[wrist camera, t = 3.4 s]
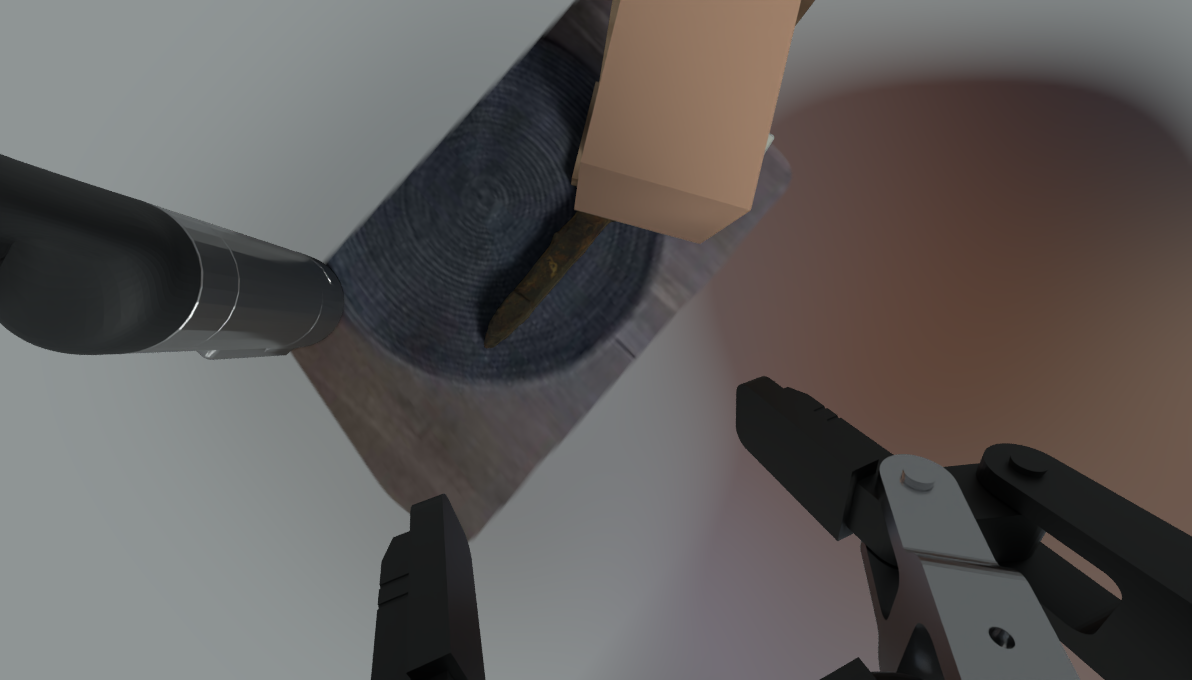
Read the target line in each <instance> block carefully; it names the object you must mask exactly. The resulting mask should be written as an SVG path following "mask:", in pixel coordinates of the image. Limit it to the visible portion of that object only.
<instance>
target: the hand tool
mask: <svg viewBox="0 0 1192 680" xmlns="http://www.w3.org/2000/svg"><path fill="white" fill-rule="evenodd" d="M610 222H615V221H614V220H611V219H607V218H603V217H600V216H596V215H592V214H589V213H585V212H581V211H577V212H576V214H575V215H574V216H573V218H571V220H570V221H569V222H568V223H567V224H566V225H564V226H563V227H562V228H561V230H560V231H559V232H556V233H555V234H554V236H553V238H552V242H551V244H550V246H549V247H548V249H547V250H546V251H545V252H544V254H543V255H542V256H541V257H540V258H539V259H538V261H537V262H536V264H535V265H534V266H533V267H532V269H531V270H530V271H529V273H528V274H527V275H526V276H525V278H524V279H523V280H522V281H521V282H520V284H519V285H518V286H517V287H516V288H515V290H514V291H513V292H511V293H510V294H509V296H508V297H507V298H506V299H505V300H504V301H503V303H502V304H501V306H500V307H499V308H498V309H497V311H496V313H495V315H494V316H493V318H492V319H491V321H490V322H489V325H488V331H487V333H486V336H485V342H484V347H485V348H493V347H495V346H496V345H497V344H499V343H500V342H501V341H502V340H504V339H506V338H507V337H508V336H509V335H510V334H511V333H512V332H513V331H514V330H515V329H516V328H517V327H518V326H519V325H521V324H522V323H523V322H524V321H525V320H526V319H528V318H529V316H530V314H531V313H532V312H533V311H534V309H535V308H536V307H537V306H538V305H539V303H540V302H541V301H542V300H543V299H544V298H545V297H546V296H547V295H548V293H549V292H550V291H551V290H552V289H553V288H554V287H555V285H556V284H557V283H558V282H559V281H560V280H561V279H562V277H563V276H564V275H565V273H566V272H567V271H568V270H569V269H570V267H571V266H572V265H573V264H574V263H575V262H576V261H578V259H579V258H580V257H581V256H582V255H583V254H584V253H585V251H586V250H587V249H588V247H589V246H590V245H591V244H592V243H593V241H594V239H595V238H596V237H597V236H598V235H599V234H600V232H601V231H602V230H603V229H604V228H605V227H606V226H607V224H609V223H610Z"/></svg>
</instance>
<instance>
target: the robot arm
mask: <svg viewBox="0 0 1192 680" xmlns="http://www.w3.org/2000/svg"><path fill="white" fill-rule="evenodd" d="M343 306H344V296H343V291H342V287H341V284H340V282H339V280H338V279H337V277H336V275H335V274H334V273H333V272H332V270H331V269H330V268H329V267H328V266H326V265H325V264H324V263H322V262H321V261H319V260H317V259H315V258H312V257H310V256H307V255H305V254H302V253H299V252H295V251H292V250H289V249H286V248H283V247H280V246H277V245H274V244H271V243H268V242H265V241H262V240H258V239H256V238H252V237H250V236H247V235H243V234H241V233H237V232H234V231H231V230H228V229H225V228H222V227H219V226H216V225H213V224H210V223H207V222H204V221H201V220H198V219H195V218H192V217H189V216H186V215H183V214H179V213H176V212H173V211H170V210H167V209H164V208H161V207H158V206H155V205H152V204H149V203H146V202H144V201H141V200H137V199H134V198H131V197H128V196H124V195H121V194H118V193H115V192H112V191H109V190H105V189H103V188H100V187H96V186H93V185H90V184H87V183H84V182H81V181H78V180H75V179H72V178H69V177H66V176H62V175H60V174H56V173H53V172H51V171H48V170H45V169H41V168H39V167H35V166H33V165H30V164H27V163H24V162H21V161H17V160H15V159H12V158H10V157H7V156H4V155H1V154H0V323H1V324H2V325H3V326H4V327H5V328H6V329H8V330H9V331H10V332H12V333H13V334H14V335H16V336H18V337H20V338H21V339H23V340H25V341H27V342H29V343H31V344H33V345H36V346H39V347H41V348H44V349H48V350H52V351H56V352H61V353H67V354H79V355H103V354H125V353H154V352H178V351H197V352H198V353H199V354H200V355H201V356H203V357H204V358H206V359H210V360H214V359H231V358H248V357H264V356H279V355H287V354H288V353H289V352H290V351H291V350H293V349H294V348H299V347H305V346H310V345H312V344H315V343H318V342H319V341H321V340H322V339H324V338H326V337H327V336H328V335H329V334H330V333H331V332H332V331H333V330H334V329H335V327H336V326H337V324H338V323H339V321H340V318H341V315H342V313H343ZM736 431H737V434H738V437H739V439H740V441H741V443H742V444H743V445H744V447H745V448H746V449H747V450H748V451H749V452H750V453H751V454H752V455H753V456H754V457H755V458H756V459H757V460H758V461H759V462H760V463H761V464H762V465H763V466H764V467H765V468H766V469H767V470H768V471H769V472H770V473H771V474H772V475H773V476H774V477H775V478H776V479H777V480H778V481H779V482H780V483H781V484H782V485H783V486H784V487H785V488H786V490H787V491H788V492H790V494H791V495H792V496H793V497H794V498H795V499H796V500H797V501H798V502H799V503H800V504H801V505H802V506H803V507H804V508H805V509H806V510H807V511H808V512H809V513H810V514H811V515H812V516H813V517H814V518H815V519H816V520H817V521H818V522H819V523H820V524H821V525H822V526H823V527H824V528H825V529H826V530H827V531H828V532H829V533H830V534H831V535H832V536H833V537H834V538H835V539H836V540H837V541H839V540H841V539H843V538H845V537H847V536H849V535H851V534H853V533H854V534H855V535H856V536H857V537H858V538H859V539H860V540H861V545H860V549H861V555H862V559H863V564H864V568H865V572H866V577H867V581H868V586H869V590H870V595H871V600H872V603H873V608H874V613H875V617H876V622H877V627H878V635H879V636H878V640H879V641H878V659H879V669H880V672H870V671H869V669H868V668H867V667H866V666H865V665H864V663H863V662H862V661H861V660H860V658H859V657H858V658H856V659H855V660H853V661H851V662H849V663H848V664H846V665H844V666H843V667H841V668H839V669H837V670H836V671H834V672H832V673H831V674H829V675H827V676H825V677H824V678H822V679H820V680H1080V678H1079V677H1078V675H1077V673H1076V671H1075V669H1074V667H1073V665H1072V663H1071V661H1070V659H1069V658H1068V656H1067V654H1066V652H1065V650H1064V648H1063V646H1062V645H1061V643H1060V641H1061V642H1062V643H1063V644H1064V645H1065V646H1066V647H1068V648H1069V649H1070V650H1071V651H1072V652H1073V653H1075V654H1076V655H1077V656H1078V657H1079V658H1080V659H1081V660H1083V661H1084V662H1085V663H1086V664H1087V665H1088V666H1090V667H1091V668H1092V669H1093V670H1094V671H1095V672H1096V673H1098V674H1099V675H1100V676H1101V677H1102V678H1103V679H1105V680H1192V536H1190V535H1188V534H1186V533H1185V532H1183V531H1181V530H1179V529H1178V528H1176V527H1174V526H1172V525H1171V524H1169V523H1167V522H1165V521H1163V520H1162V519H1160V518H1158V517H1156V516H1155V515H1153V514H1151V513H1150V512H1148V511H1146V510H1144V509H1142V508H1140V507H1139V506H1137V505H1135V504H1134V503H1132V502H1130V501H1128V500H1127V499H1125V498H1123V497H1121V496H1119V495H1118V494H1116V493H1114V492H1113V491H1111V490H1109V489H1107V488H1106V487H1104V486H1102V485H1100V484H1099V483H1097V482H1095V481H1093V480H1091V479H1090V478H1088V477H1086V476H1085V475H1083V474H1081V473H1079V472H1078V471H1076V470H1074V469H1072V468H1071V467H1069V466H1067V465H1065V464H1064V463H1062V462H1060V461H1058V460H1057V459H1055V458H1053V457H1051V456H1049V455H1047V454H1045V453H1043V452H1041V451H1038V450H1036V449H1033V448H1030V447H1026V446H1022V445H1017V444H995V445H992V446H990V447H988V448H987V449H986V450H985V452H984V454H983V456H982V459H981V462H980V463H979V464H968V465H959V466H949V467H942V466H940V465H939V464H937V463H935V462H933V461H931V460H928V459H926V458H923V457H919V456H915V455H908V454H907V455H906V454H899V455H893V454H891V453H890V452H889V451H887V450H886V449H884V448H882V447H881V446H880V445H879V444H877V443H876V442H874V441H873V440H871V439H870V438H869V437H867V436H866V435H865V434H863V433H862V432H860V431H859V430H857V429H856V428H855V427H853V426H852V425H850V424H849V423H848V422H846V421H845V420H843V419H842V418H838V416H837V415H836V414H835V413H833V412H832V411H831V410H829V409H828V408H826V409H825V407H824V406H823V405H822V404H821V403H819V402H818V401H816V400H815V399H814V398H812V397H811V396H809V395H808V394H805V393H803V392H800V391H797V390H795V389H792V388H789V387H787V388H782V387H781V386H779V385H778V384H777V383H775V382H774V381H773V380H771V379H770V378H768V377H765V376H762V377H759V378H756V379H754V380H751V381H748V382H746V383H743V384H741V385H739V386H738V387H737V392H736ZM1046 532H1047V533H1049V534H1050V535H1052V536H1053V537H1055V538H1056V539H1057V540H1059V541H1060V542H1062V543H1063V544H1064V545H1066V546H1067V547H1069V548H1070V549H1072V550H1073V551H1074V552H1076V553H1077V554H1079V555H1080V556H1081V557H1083V558H1084V559H1086V560H1087V561H1089V562H1090V563H1091V564H1093V565H1094V566H1096V567H1097V568H1099V569H1100V570H1101V571H1103V572H1104V573H1106V574H1107V575H1108V576H1109V577H1110V578H1111V579H1112V580H1113V581H1114V582H1115V583H1116V585H1117V586H1118V587H1119V589H1120V591H1121V594H1122V600H1120V599H1119V598H1117V597H1116V596H1114V595H1113V594H1112V593H1110V592H1109V591H1107V590H1106V589H1105V588H1103V587H1102V586H1100V585H1099V584H1098V583H1096V582H1095V581H1094V580H1092V579H1091V578H1089V577H1088V576H1087V575H1085V574H1084V573H1082V572H1081V571H1080V570H1078V569H1077V568H1076V567H1074V566H1073V565H1072V564H1070V563H1069V562H1067V561H1066V560H1065V559H1063V558H1062V557H1061V556H1059V555H1058V554H1056V553H1055V552H1054V551H1052V550H1051V549H1050V548H1048V547H1047V546H1045V545H1044V544H1043V543H1041V542H1040V541H1041V540H1042V538H1043V536H1044V534H1045V533H1046ZM378 607H379V609H378V610H377V620H376V631H375V641H374V653H373V663H372V674H371V680H485V672H484V663H483V654H482V646H481V637H480V629H479V619H478V611H477V602H476V593H475V584H474V575H473V567H472V558H471V553H470V548H469V545H468V541H467V538H466V535H465V533H464V531H463V529H462V527H461V524H460V522H459V520H458V518H457V516H456V514H455V512H454V510H453V508H452V506H451V503H450V501H449V499H448V497H447V496H446V494H441V495H439V496H436V497H433V498H431V499H428V500H425V501H423V502H420V503H417V504H414V505H412V507H411V512H410V531H409V532H407V533H404V534H401V535H398V536H396V537H394V538H393V539H392V541H391V543H390V545H389V547H388V549H387V552H386V553H385V556H384V558H383V560H382V564H381V574H380V589H379V597H378Z"/></svg>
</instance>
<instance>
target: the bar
mask: <svg viewBox="0 0 1192 680" xmlns="http://www.w3.org/2000/svg"><path fill="white" fill-rule="evenodd" d="M800 3H801V0H620V4H619V8H618V12H617V16H616V20H615V24H614V28H613V33H612V37H611V41H610V45H609V49H608V53H607V57H606V61H605V65H604V69H603V73H602V77H601V81H600V85H599V89H598V93H597V97H596V101H595V105H594V109H593V113H592V117H591V121H590V125H589V129H588V133H587V137H586V141H585V145H584V150H583V154H582V158H581V162H580V169H579V177H578V184H577V192H576V200H575V208H574V210H578V211H581V212H585V213H589V214H592V215H596V216H600V217H603V218H607V219H611V220H614V221H618V222H622V223H625V224H629V225H633V226H636V227H640V228H644V229H647V230H651V231H655V232H658V233H662V234H666V235H669V236H673V237H677V238H680V239H684V240H688V241H691V242H695V243H699V244H701V243H702V242H704V241H705V240H707V239H708V238H710V237H711V236H713V235H714V234H716V233H717V232H719V231H720V230H722V229H723V228H725V227H726V226H728V225H729V224H731V223H732V222H734V221H735V220H737V219H738V218H740V217H741V216H743V215H744V214H746V213H747V212H749V211H750V210H751V207H752V203H753V198H754V194H755V190H756V186H757V182H758V178H759V173H760V169H761V165H762V161H763V157H764V153H765V148H766V144H767V140H768V136H769V132H770V128H771V123H772V119H773V115H774V111H775V107H776V103H777V98H778V94H779V90H780V86H781V82H782V77H783V73H784V69H785V65H786V61H787V57H788V53H789V48H790V44H791V40H792V36H793V31H794V28H795V23H796V19H797V15H798V11H799V7H800Z"/></svg>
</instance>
